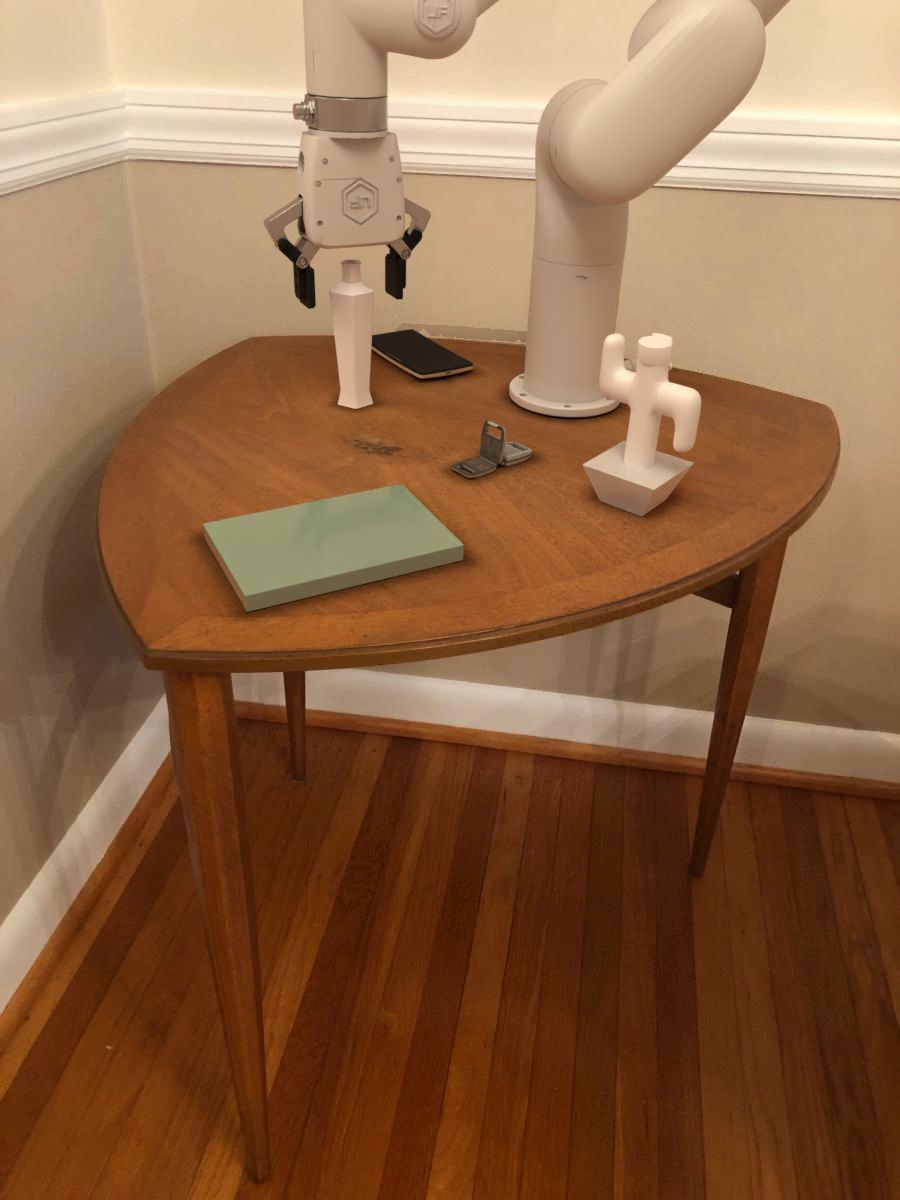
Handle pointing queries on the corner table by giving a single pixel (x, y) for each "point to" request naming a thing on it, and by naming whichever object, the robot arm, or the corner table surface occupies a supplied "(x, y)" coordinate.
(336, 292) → the white faceted vase
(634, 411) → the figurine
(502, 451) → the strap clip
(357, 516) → the tile slab
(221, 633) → the corner table surface
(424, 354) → the smartphone
